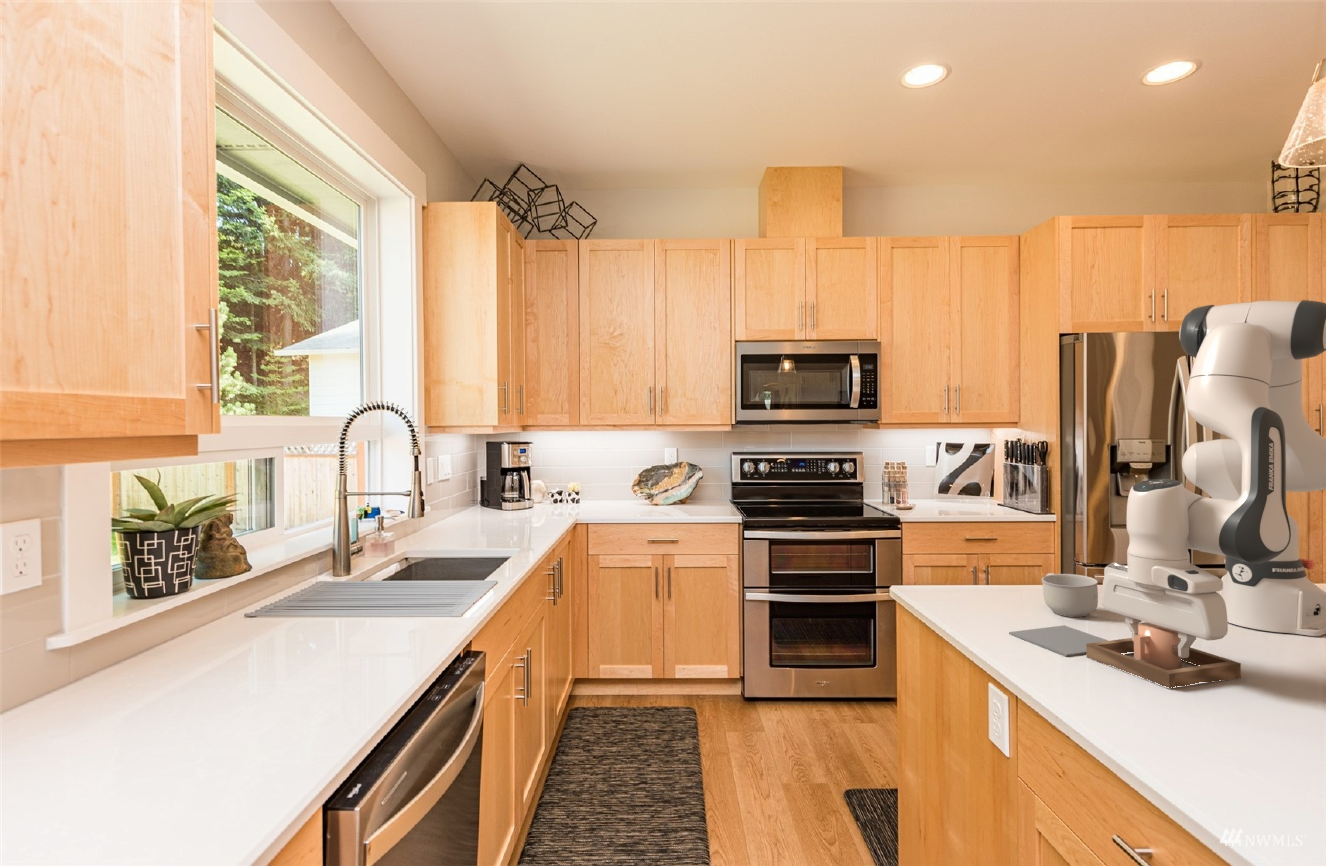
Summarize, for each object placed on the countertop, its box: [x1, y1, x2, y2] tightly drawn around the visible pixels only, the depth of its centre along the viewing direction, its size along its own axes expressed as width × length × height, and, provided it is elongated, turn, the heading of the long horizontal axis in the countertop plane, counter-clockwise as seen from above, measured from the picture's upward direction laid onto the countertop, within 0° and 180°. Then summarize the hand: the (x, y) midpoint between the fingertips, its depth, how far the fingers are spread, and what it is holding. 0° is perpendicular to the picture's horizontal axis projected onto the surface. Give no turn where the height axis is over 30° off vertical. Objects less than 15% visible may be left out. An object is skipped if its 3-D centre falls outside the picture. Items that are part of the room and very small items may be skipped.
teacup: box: [1041, 572, 1099, 618], centre depth 149 cm, size 14×11×8 cm
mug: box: [1133, 622, 1183, 670], centre depth 114 cm, size 8×6×7 cm
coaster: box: [1008, 625, 1109, 658], centre depth 129 cm, size 14×14×1 cm
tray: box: [1085, 637, 1242, 688], centre depth 115 cm, size 15×15×2 cm
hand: (1159, 649), depth 115 cm, fingers closed on mug, 6 cm apart
